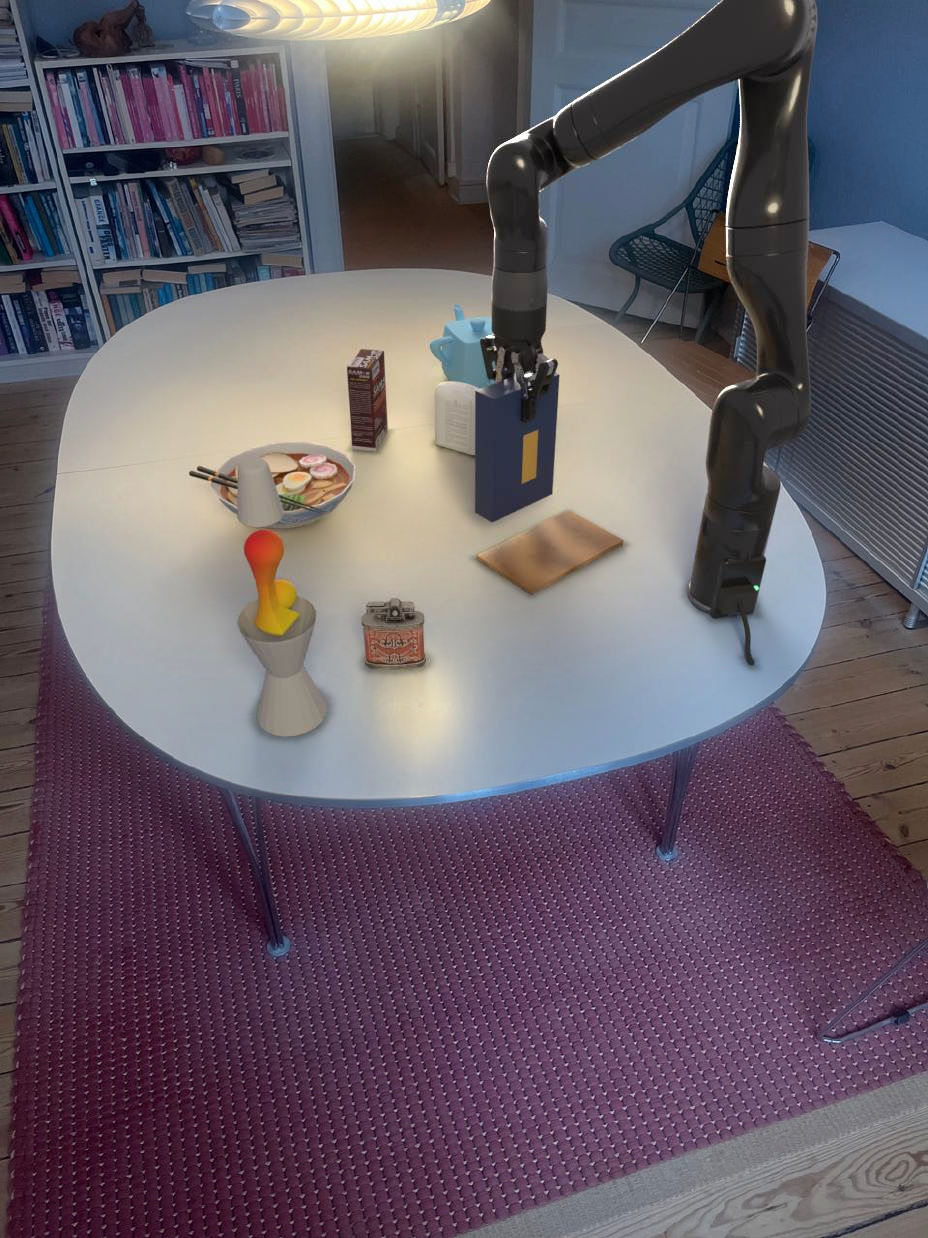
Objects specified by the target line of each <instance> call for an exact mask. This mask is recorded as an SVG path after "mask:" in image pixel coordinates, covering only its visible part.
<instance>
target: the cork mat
mask: <svg viewBox="0 0 928 1238" xmlns="http://www.w3.org/2000/svg"><path fill="white" fill-rule="evenodd" d="M623 545H624V539H622V538H620V537H619V536H617V535H615V534H613V533H611V532H609V531H607V530H606V529H605V528H602V527H601V526H598V525H597V524H595V523H593V522H591V521H590V520H588V519H586V518H584V517H582V516H580V515H579V514H577V513H575V512H573V511H571V510H570V509H567V510H565V511H562V512H560V513H558V514H557V515H555V516H552V517H551V518H549V519H546V520H544V521H542V522H541V523H539V524H537V525H534V526H532V527H530V528H529V529H527V530H525V531H523V532H520V533H519V534H516V535H514V536H513V537H510V538H508V539H506V540H505V541H503V542H500V543H498V544H497V545H494V546H492V547H490V548H488V549H486V550H484V551H482V552H480V553H478V554H476V560H477V561H478V562H480V563H482V565H485V566H486V567H487V568H489V569H490V570H492V571H494V572H496V573H497V574H499V575H500V576H502V577H503V578H505V579H506V580H508V581H509V582H511V583H512V584H514V585H516V586H517V587H519V588H520V589H521V590H523V591H524V592H527V593H528V594H530V595H533V594H535V593H537V592H539V591H540V590H542V589H544V588H546V587H548V586H550V585H552V584H553V583H555V582H557V581H559V580H561V579H562V578H565V577H566V576H567V575H569V574H571V573H572V574H573V572H575V571H577V570H579V569H581V568H582V567H585V566H587V565H589V564H590V563H592V562H594V561H595V560H598V558H601V557H604V555H606V554H608V553H610V552H611V551H614V550H615V549H617V548H619V547H621V546H623Z"/></svg>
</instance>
